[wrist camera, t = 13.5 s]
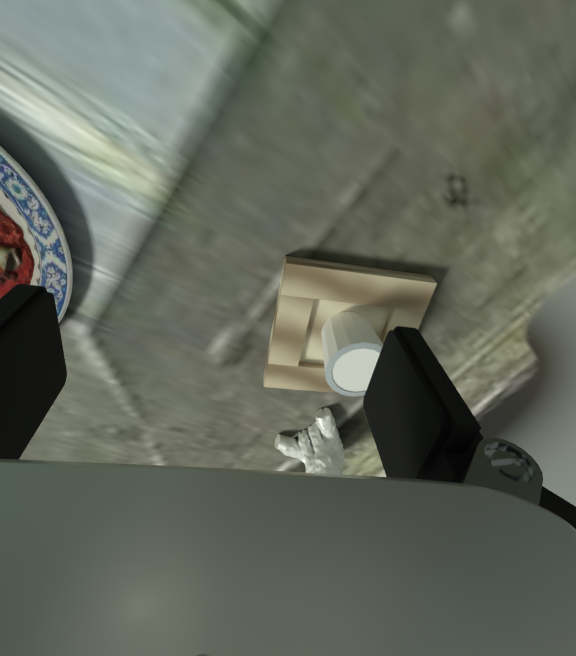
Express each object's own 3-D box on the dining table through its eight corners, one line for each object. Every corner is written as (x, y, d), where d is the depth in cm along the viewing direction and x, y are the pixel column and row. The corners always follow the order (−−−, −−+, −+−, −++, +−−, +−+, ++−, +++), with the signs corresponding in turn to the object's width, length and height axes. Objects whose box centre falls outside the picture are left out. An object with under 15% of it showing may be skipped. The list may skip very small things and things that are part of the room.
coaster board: (285, 255, 40) (286, 263, 38) (429, 275, 42) (437, 283, 41) (263, 376, 48) (263, 386, 47) (385, 386, 51) (389, 397, 49)
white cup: (386, 332, 45) (406, 371, 39) (340, 366, 47) (352, 407, 41) (351, 294, 42) (367, 330, 36) (303, 332, 44) (310, 371, 38)
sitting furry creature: (325, 402, 52) (343, 481, 41) (361, 435, 55) (385, 514, 45) (271, 436, 54) (275, 518, 44) (309, 465, 58) (320, 546, 48)
